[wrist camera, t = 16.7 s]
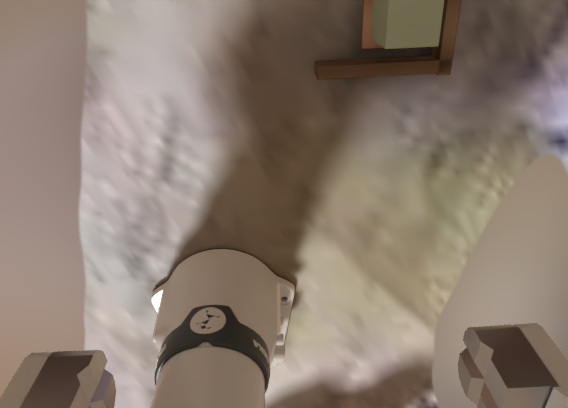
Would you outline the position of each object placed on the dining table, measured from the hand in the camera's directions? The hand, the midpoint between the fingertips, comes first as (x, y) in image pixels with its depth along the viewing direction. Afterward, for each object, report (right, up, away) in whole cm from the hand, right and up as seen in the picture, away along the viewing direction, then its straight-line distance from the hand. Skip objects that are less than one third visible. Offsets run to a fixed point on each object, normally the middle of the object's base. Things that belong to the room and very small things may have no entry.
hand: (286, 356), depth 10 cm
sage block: (+10, +23, +30) cm, 39 cm away
